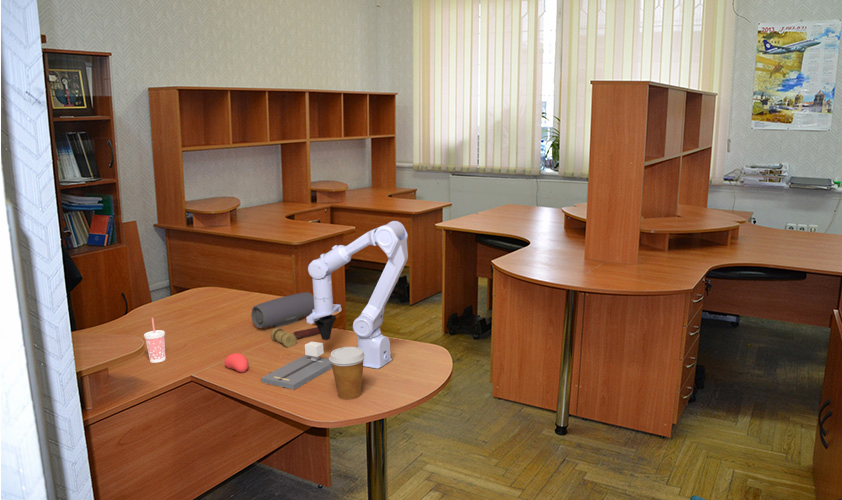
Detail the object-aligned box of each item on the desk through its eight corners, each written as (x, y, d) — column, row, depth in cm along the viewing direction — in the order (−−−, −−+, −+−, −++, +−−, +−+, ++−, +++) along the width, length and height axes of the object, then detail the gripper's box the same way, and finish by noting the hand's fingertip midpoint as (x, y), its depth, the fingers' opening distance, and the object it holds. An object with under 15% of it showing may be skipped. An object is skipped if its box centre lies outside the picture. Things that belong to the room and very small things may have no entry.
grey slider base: (337, 364, 195) (337, 359, 195) (293, 390, 178) (293, 384, 178) (306, 359, 201) (305, 354, 201) (261, 382, 184) (260, 377, 184)
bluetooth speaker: (303, 313, 249) (301, 288, 247) (318, 318, 243) (316, 292, 241) (251, 328, 233) (249, 302, 231) (265, 334, 227) (263, 306, 225)
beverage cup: (147, 358, 207) (142, 316, 204) (168, 355, 209) (162, 314, 207) (147, 364, 202) (141, 322, 199) (168, 361, 204) (162, 319, 201)
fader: (324, 359, 195) (322, 343, 194) (317, 362, 193) (316, 346, 192) (312, 356, 198) (311, 341, 197) (305, 360, 195) (304, 344, 194)
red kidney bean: (245, 367, 200) (233, 350, 200) (255, 364, 193) (243, 347, 192) (231, 377, 197) (219, 360, 197) (241, 375, 190) (229, 357, 189)
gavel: (323, 318, 231) (338, 324, 224) (323, 331, 232) (338, 337, 225) (270, 328, 218) (284, 335, 211) (270, 341, 219) (284, 349, 211)
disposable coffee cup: (368, 386, 179) (365, 345, 176) (366, 401, 169) (363, 358, 167) (333, 388, 178) (330, 347, 176) (330, 403, 169) (326, 359, 167)
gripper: (327, 289, 205) (329, 330, 207) (297, 301, 192) (300, 344, 195) (345, 291, 201) (347, 333, 204) (316, 304, 189) (319, 348, 192)
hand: (325, 339), depth 199 cm, fingers closed
